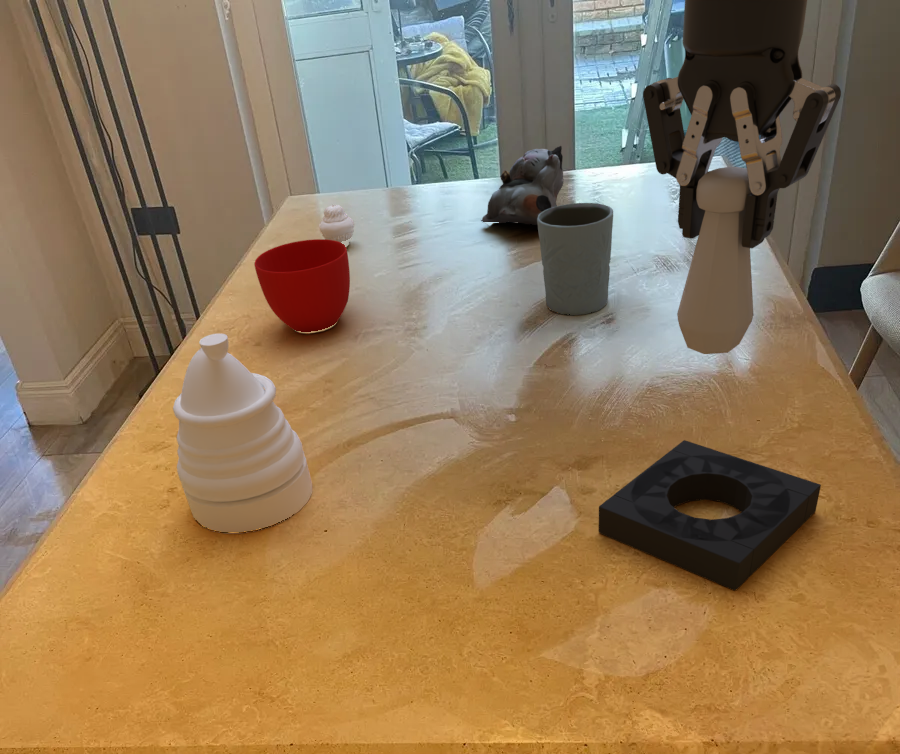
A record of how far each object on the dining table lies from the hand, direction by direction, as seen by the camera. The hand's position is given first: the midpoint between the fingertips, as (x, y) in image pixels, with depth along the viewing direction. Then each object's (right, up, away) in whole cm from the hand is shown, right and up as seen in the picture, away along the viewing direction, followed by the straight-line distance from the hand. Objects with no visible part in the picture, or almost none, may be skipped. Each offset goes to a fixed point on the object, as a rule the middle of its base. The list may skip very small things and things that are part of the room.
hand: (722, 238), depth 64 cm
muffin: (-40, +35, +86) cm, 101 cm away
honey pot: (-41, -17, +26) cm, 52 cm away
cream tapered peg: (+1, -6, +5) cm, 8 cm away
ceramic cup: (-39, +14, +61) cm, 74 cm away
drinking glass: (-3, +15, +56) cm, 58 cm away
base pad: (+3, -20, +14) cm, 25 cm away
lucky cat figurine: (-7, +38, +84) cm, 93 cm away
